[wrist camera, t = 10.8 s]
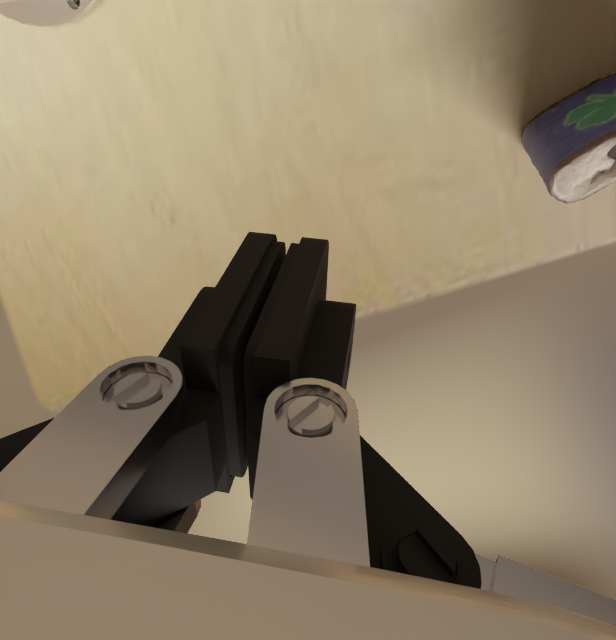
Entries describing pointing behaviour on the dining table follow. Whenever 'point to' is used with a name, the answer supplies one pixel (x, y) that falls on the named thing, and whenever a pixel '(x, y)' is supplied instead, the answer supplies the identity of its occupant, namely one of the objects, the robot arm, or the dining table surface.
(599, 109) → the flask
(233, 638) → the robot arm
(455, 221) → the dining table surface
